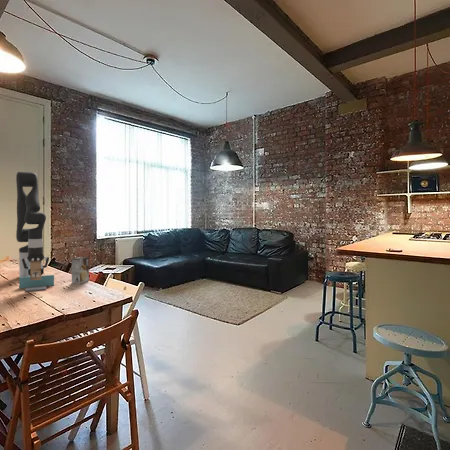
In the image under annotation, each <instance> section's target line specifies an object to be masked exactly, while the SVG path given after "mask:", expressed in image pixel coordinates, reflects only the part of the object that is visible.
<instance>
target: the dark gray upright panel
mask: <svg viewBox="0 0 450 450" xmlns="http://www.w3.org/2000/svg"><path fill="white" fill-rule="evenodd" d="M46 290H47V286H37V287H27V288H25V290H24V291H25V293H28V292H31V293H32V292H41V291H46Z"/></svg>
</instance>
